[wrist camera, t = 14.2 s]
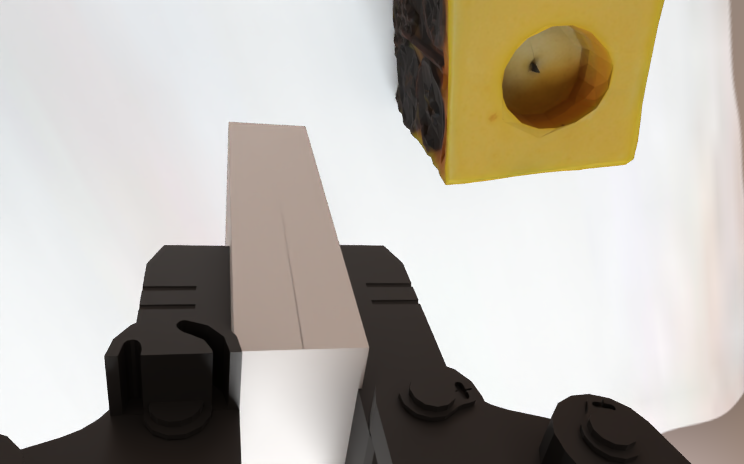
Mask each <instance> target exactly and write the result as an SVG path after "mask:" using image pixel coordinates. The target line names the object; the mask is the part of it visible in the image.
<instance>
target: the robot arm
mask: <svg viewBox="0 0 744 464" xmlns="http://www.w3.org/2000/svg"><path fill="white" fill-rule="evenodd" d="M104 359H105V369H106V379H107V390H108V400H109V410H108V411H107V412H106V413H105V414H104V415H103V416H102V417H100V418H99V419H98V420H96V421H95V422H93V423H91V424H90V425H88V426H86V427H85V428H83V429H81V430H79V431H76V432H74V433H71V434H69V435H66V436H63V437H61V438H58V439H54V440H51V441H48V442H44V443H41V444H38V445H34V446H31V447H28V448H24V449H21V450H20V449H19V448H18V447H17V446H16V445H15V444H14V443H13V442H12V441H11V440H10V439H9V438H8V437H7V436H4V435H1V434H0V464H691V463H690V462H689V461H688V460H687V459H686V458H685V457H684V456H682V454H681V453H680V452H679V451H678V450H677V449H676V448H675V447H674V446H673V445H671V444H670V443H669V442H668V441H667V440H666V439H665V438H664V437H663V436H662V435H661V434H660V433H659V432H658V431H657V430H656V429H655V428H654V427H653V426H652V425H651V424H650V423H649V422H648V421H647V420H645V419H644V418H643V417H641V416H640V415H639V414H638V413H636V412H635V411H634V410H632V409H631V408H629V407H627V406H625V405H623V404H621V403H619V402H616V401H614V400H612V399H610V398H605V397H601V396H596V395H591V394H584V395H573V396H570V397H568V398H566V399H565V400H563V401H561V402H559V403H558V404H557V407H556V409H555V411H554V413H553V415H552V417H551V419H549V418H544V417H540V416H535V415H530V414H525V413H521V412H516V411H511V410H507V409H504V408H500V407H497V406H494V405H491V404H489V403H487V402H485V401H484V399H483V397H482V395H481V394H480V393H479V391H478V390H477V389H476V387H475V386H474V384H473V383H472V382H471V381H470V380H469V379H467V378H466V377H465V376H463V375H462V374H460V373H459V372H458V371H456V370H455V369H452V368H449V367H447V366H446V364H445V362H444V359H443V357H442V355H441V352H440V350H439V348H438V345H437V343H436V340H435V338H434V336H433V333H432V331H431V329H430V326H429V324H428V322H427V319H426V317H425V315H424V312H423V310H422V307H421V305H420V304H418V298H417V296H416V293H415V291H414V289H413V287H411V282H410V279H409V277H408V275H407V272H406V270H405V267H404V265H403V263H402V262H401V261H400V260H399V259H398V258H397V257H395V256H394V255H393V254H392V253H391V252H390V251H389V250H388V249H387V248H386V247H384V246H371V245H339V241H338V238H337V234H336V231H335V227H334V224H333V221H332V217H331V214H330V210H329V207H328V203H327V200H326V196H325V193H324V189H323V186H322V182H321V179H320V176H319V172H318V169H317V165H316V162H315V158H314V155H313V151H312V148H311V144H310V141H309V137H308V134H307V131H306V127H305V126H289V125H272V124H255V123H238V122H229V128H228V164H227V199H226V235H225V246H189V245H164V246H163V247H162V248H161V249H160V250H159V251H158V252H157V253H156V254H155V256H154V257H153V258H152V259H151V260H150V261H149V262H148V263H147V265H146V271H145V276H144V282H143V291H142V294H141V299H140V308H139V311H138V317H137V322H136V323H135V324H132V325H130V326H129V327H128V328H127V329H125V330H124V331H123V332H122V333H120V334H119V335H118V336H117V337H115V338H114V339H113V341H112V343H111V345H110V346H109V348H108V350H107V352H106V354H105V356H104Z"/></svg>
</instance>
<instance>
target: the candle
mask: <svg viewBox="0 0 744 464" xmlns="http://www.w3.org/2000/svg"><path fill="white" fill-rule="evenodd" d="M663 4H664V0H394V5H393V22H394V28H395V33H396V35H395V37H394V44H395V46H396V48H395V56H396V58H397V73H398V82H399V88H398V92H397V95H396V100H397V102H398V109H399V112H401V113H402V116H403V123H404V125H405V126H406V127H407V128H408V129H409V130H410V132H411V134H412V135H413V136H414V137H415V138H416V139H417V140H418V141H419V142H420V144H421V145H422V147H423V148H424V150H425V152H426V153H427V155H428V156H430V157H431V158H432V162H433V164H434V166H435V167H436V168H437V169H438V170H439V174H440V176H441V178H442V180H443V181H444V183H445V184H446V185H451V184H465V183H472V182H480V181H488V180H495V179H501V178H508V177H514V176H521V175H529V174H537V173H545V172H556V171H570V170H582V169H589V168H598V167H608V166H618V165H626V164H627V163H629V162H630V161H631V160H633V158H634V154H635V150H636V146H637V142H638V136H639V128H640V121H641V111H642V103H643V98H644V93H645V87H646V82H647V77H648V72H649V67H650V62H651V57H652V52H653V47H654V42H655V38H656V33H657V28H658V24H659V20H660V16H661V12H662V8H663Z"/></svg>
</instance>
